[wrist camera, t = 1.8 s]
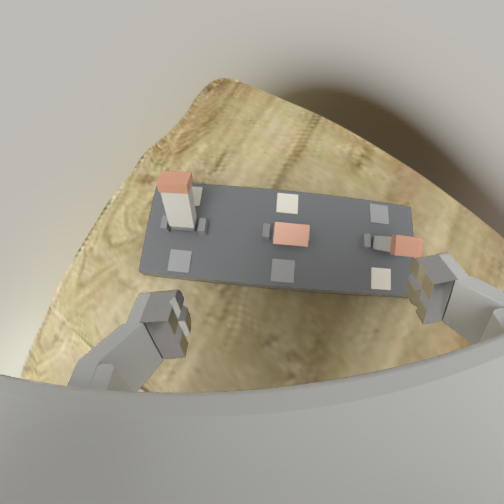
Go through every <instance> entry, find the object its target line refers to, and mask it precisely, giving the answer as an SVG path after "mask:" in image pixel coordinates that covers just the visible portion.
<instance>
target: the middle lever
mask: <svg viewBox="0 0 504 504" xmlns="http://www.w3.org/2000/svg"><path fill="white" fill-rule="evenodd" d="M309 228H310V225H304V224H294V223H284V222H275V224H274V229H273V244H283V245H294V246H305V247H308V239H309Z"/></svg>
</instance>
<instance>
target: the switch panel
mask: <svg viewBox="0 0 504 504" xmlns="http://www.w3.org/2000/svg"><path fill="white" fill-rule="evenodd" d="M192 190H193V197H194V203H195V209H196V215H197V219H196V222H197V225H196V230H195V231H183V230H172V229H171V226H169V223H168V220H167V216H166V212H165V208H164V205H163V201H162V197H161V193H160V192H158V188H157V186H156V190H155V194H154V198H153V203H152V207H151V212H150V216H149V221H148V225H147V230H146V235H145V240H144V245H143V251H142V256H141V262H140V267H139V272H140V273H142V274H144V275H149V276H157V277H165V278H174V279H183V280H191V281H201V282H210V283H220V284H230V285H240V286H250V287H261V288H272V289H284V290H296V291H308V292H321V293H335V294H349V295H365V296H382V297H400V298H408V294H407V280H408V278H409V276H410V275H411V274H412V272H411V270H410V269H409V268H410V262H411V260H412V259H414V258H415V257H407V256H397V255H391V254H390V252H386V251H381V250H376V249H373V248H372V247H371V239H372V237H373V236H374V235H375V236H390V237H392V235H402V236H410V237H413V225H412V214H411V207H408V206H402V205H396V204H389V203H383V202H376V201H369V200H362V199H354V198H346V197H339V196H330V195H322V194H313V193H304V192H294V191H284V190H274V189H262V188H250V187H237V186H223V185H206V184H192ZM275 222H284V223H294V224H304V225H310V228H309V239H308V247H305V246H294V245H283V244H273V229H274V224H275Z"/></svg>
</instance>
